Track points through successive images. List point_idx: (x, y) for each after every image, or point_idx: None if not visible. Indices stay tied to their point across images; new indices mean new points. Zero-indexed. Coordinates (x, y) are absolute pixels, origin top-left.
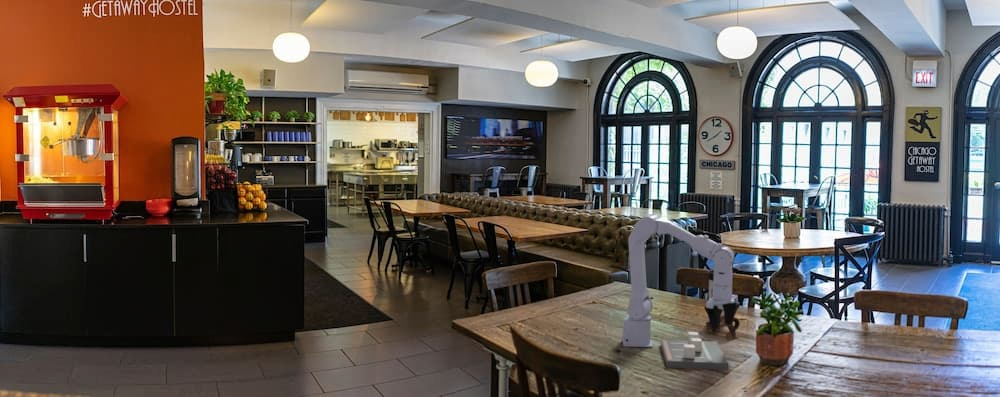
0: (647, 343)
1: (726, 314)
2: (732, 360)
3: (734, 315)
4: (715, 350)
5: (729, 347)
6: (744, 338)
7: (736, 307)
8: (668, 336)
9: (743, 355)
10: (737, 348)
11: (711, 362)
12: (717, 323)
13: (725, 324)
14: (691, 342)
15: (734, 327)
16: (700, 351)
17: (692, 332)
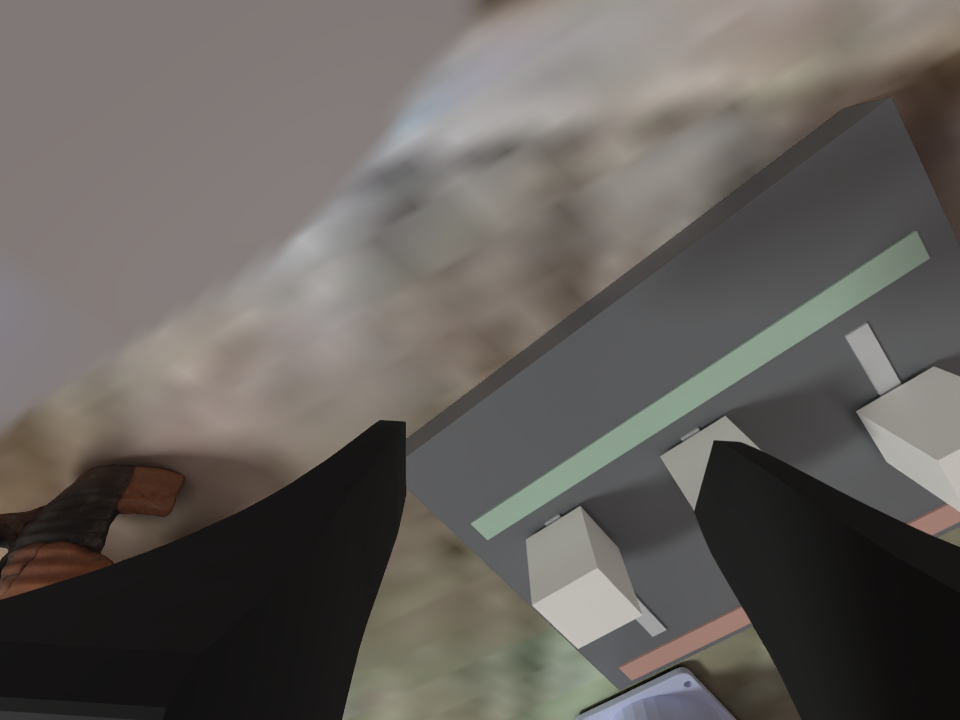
0: (683, 702)
1: (359, 599)
2: (583, 216)
3: (298, 483)
4: (597, 369)
5: (320, 388)
6: (57, 418)
7: (197, 603)
8: (429, 697)
9: (404, 219)
10: (292, 339)
11: (944, 227)
12: (830, 488)
13: None
14: None
15: (14, 532)
16: (731, 422)
17: (569, 624)
